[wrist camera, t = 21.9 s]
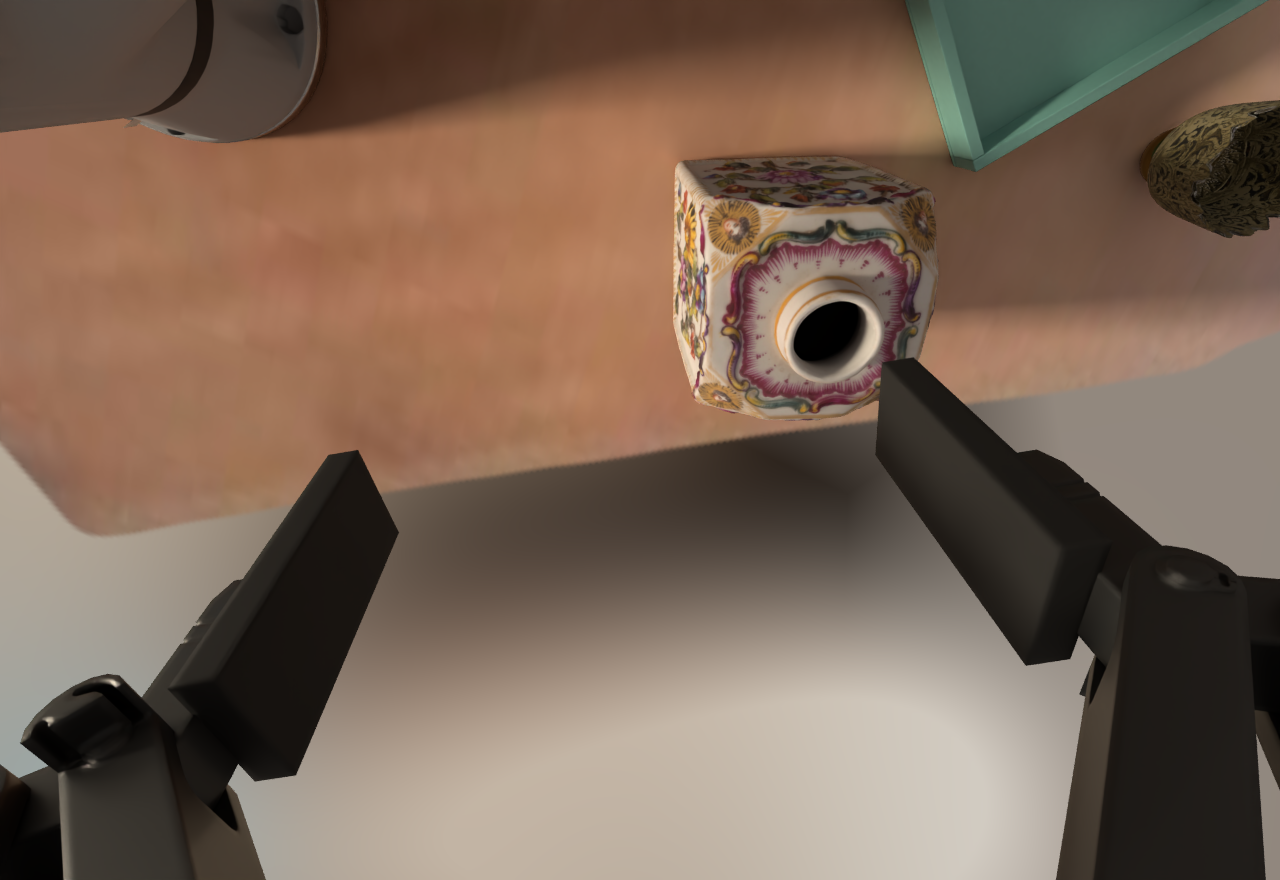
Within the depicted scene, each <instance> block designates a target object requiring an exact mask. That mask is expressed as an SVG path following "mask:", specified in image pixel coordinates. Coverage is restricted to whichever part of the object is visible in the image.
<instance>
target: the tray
mask: <svg viewBox="0 0 1280 880" xmlns="http://www.w3.org/2000/svg"><path fill="white" fill-rule="evenodd" d="M1266 1H1268V0H905V3H906V7H907V10H908V13H909V17H910V20H911V24H912V27H913V30H914V34H915V37H916V40H917V44H918V47H919V51H920V54H921V57H922V61H923V64H924V67H925V71H926V74H927V78H928V81H929V84H930V88H931V91H932V95H933V98H934V101H935V105H936V108H937V111H938V115H939V118H940V122H941V125H942V128H943V132H944V135H945V139H946V142H947V145H948V149H949V152H950V155H951V159H952V162H953V166H955V167H960V168H964V169H967V170H971V171H975V172H977V171H978V170H980V169H982V168H984V167H985V166H987V165H989V164H990V163H992V162H994V161H996V160H997V159H999V158H1001V157H1002V156H1004V155H1006V154H1007V153H1009V152H1011V151H1013V150H1014V149H1016V148H1018V147H1019V146H1021V145H1023V144H1024V143H1026V142H1028V141H1030V140H1031V139H1033V138H1035V137H1036V136H1038V135H1040V134H1041V133H1043V132H1045V131H1047V130H1048V129H1050V128H1052V127H1053V126H1055V125H1057V124H1058V123H1060V122H1062V121H1064V120H1065V119H1067V118H1069V117H1070V116H1072V115H1074V114H1076V113H1077V112H1079V111H1081V110H1082V109H1084V108H1086V107H1087V106H1089V105H1091V104H1093V103H1094V102H1096V101H1098V100H1099V99H1101V98H1103V97H1104V96H1106V95H1108V94H1110V93H1111V92H1113V91H1115V90H1116V89H1118V88H1120V87H1121V86H1123V85H1125V84H1127V83H1128V82H1130V81H1132V80H1133V79H1135V78H1137V77H1139V76H1140V75H1142V74H1144V73H1145V72H1147V71H1149V70H1150V69H1152V68H1154V67H1156V66H1157V65H1159V64H1161V63H1162V62H1164V61H1166V60H1167V59H1169V58H1171V57H1173V56H1174V55H1176V54H1178V53H1179V52H1181V51H1183V50H1184V49H1186V48H1188V47H1190V46H1191V45H1193V44H1195V43H1196V42H1198V41H1200V40H1202V39H1203V38H1205V37H1207V36H1208V35H1210V34H1212V33H1213V32H1215V31H1217V30H1219V29H1220V28H1222V27H1224V26H1225V25H1227V24H1229V23H1230V22H1232V21H1234V20H1236V19H1237V18H1239V17H1241V16H1242V15H1244V14H1246V13H1247V12H1249V11H1251V10H1253V9H1254V8H1256V7H1258V6H1259V5H1261V4H1263V3H1264V2H1266Z"/></svg>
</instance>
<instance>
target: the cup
mask: <svg viewBox="0 0 1280 880" xmlns="http://www.w3.org/2000/svg"><path fill="white" fill-rule="evenodd" d="M1140 172H1141V175H1142V177H1143V178H1144V179H1145V180H1146V181H1147V182H1148V188H1149V191H1150V194H1151V196H1152V197H1153V199H1154V200H1155V201H1156V203H1157V204H1158V205H1160V206H1161V207H1162V208H1163V209H1165V210H1166V211H1168V212H1170V213H1171V214H1173V215H1175V216H1177V217H1179V218H1182V219H1184V220H1186V221H1188V222H1191V223H1193V224H1195V225H1197V226H1200V227H1202V228H1205V229H1207V230H1209V231H1211V232H1214V233H1217V234H1219V235H1221V236H1223V237H1227V238H1232V236H1233V234H1234V235H1239V236H1251V235H1252V234H1254V232H1255V231H1257V230H1268V229H1269V222H1270V221H1269V218H1268V217H1277V218H1278V217H1280V100H1278V101H1264V102H1252V103H1242V104H1234V105H1228V106H1222V107H1218V108H1214V109H1211V110H1208V111H1205V112H1202V113H1200V114H1198V115H1196V116H1194V117H1192V118H1190V119H1188V120H1187V121H1185V122H1184V123H1182V124H1181V125H1179V126H1178V127H1176V128H1173V129H1170V130H1168V131H1166V132H1164V133H1162V134H1160V135H1159V136H1157V137H1156V138H1155V139H1154V140H1153V141H1152V142H1151V143H1150V144H1149V145H1148V146H1147V148H1146V149H1145V151H1144V153H1143V155H1142V157H1141V160H1140Z"/></svg>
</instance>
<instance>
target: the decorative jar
mask: <svg viewBox="0 0 1280 880" xmlns="http://www.w3.org/2000/svg"><path fill="white" fill-rule="evenodd" d="M935 202H936V201H935V198H934V197H933V195H932V193H931V191H930V190H928V189H927V188H925V187H921V186H919V185H917V184H914V183H912V182H909V181H907V180H905V179H902V178H899V177H896V176H894V175H892V174H890V173H887V172H884V171H882V170H880V169H877V168H874V167H872V166H869V165H867V164H864V163H861V162H858V161H855V160H850V159H848V158H844V157H838V156H834V157H828V156H824V157H818V156H816V157H780V158H778V157H777V158H773V157H772V158H751V159H729V160H724V159H722V160H687V161H681V162H679V163H678V164H677V166H676V169H675V214H674V272H673V273H674V296H673V298H674V301H673V309H674V312H673V323H674V328H675V332H676V336H677V340H678V344H679V348H680V352H681V355H682V359H683V362H684V365H685V369H686V372H687V375H688V378H689V381H690V385H691V388H692V396H693V398H694V399H695V400H696V401H697V402H698V403H700V404H702V405H708V406H714V407H716V408H718V409H721V410H723V411H727V412H730V413H743V414H747V415H750V416H753V417H756V418H761V419H766V420H820V419H824V418H833V417H841V416H844V415H847V414H849V413H851V412H852V411H854V410H856V409H859V408H861V407H863V406H865V405H868V404H870V403H871V402H874V401H878V400H879V396H880V382H881V367H882V362H887V361H893V360H899V359H905V358H911V357H914V358H915V359H916V360H917V361H918V359H919V358H920V355H921V352H922V347H923V344H924V340H925V337H926V333H927V330H928V327H929V323H930V319H931V317H932V314H933V311H934V306H935V297H936V288H937V283H938V277H939V276H938V259H937V253H936V223H935V218H934V210H933V207H934V204H935Z"/></svg>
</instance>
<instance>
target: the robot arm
mask: <svg viewBox="0 0 1280 880" xmlns="http://www.w3.org/2000/svg"><path fill="white" fill-rule="evenodd" d="M326 45H327V20H326V9H325V3H324V0H0V133H1V132H9V131H18V130H26V129H35V128H44V127H52V126H61V125H70V124H78V123H87V122H96V121H104V120H113V119H121V118H124V119H127V120H132V121H131V122H130V123H128V124H127V125H126V126H124V127H123V128H125V127H133V126H137V125H138V124H141V125H144V126H146V127H148V128H151V129H153V130H156V131H159V132H161V133H164V134H167V135H171V136H174V137H178V138H182V139H186V140H193V141H201V142H213V143H230V142H238V141H244V140H249V139H253V138H257V137H261V136H264V135H267V134H269V133H272V132H274V131H276V130H278V129H279V128H281V127H283V126H284V125H286V124H287V123H288V122H290V121H291V120H292V119H293V118H294V117H296V116H297V115H298V114H299V113H300V112H301V110H302V109H303V108H304V107H305V105H306V104H307V103H308V101H309V99H310V98H311V96H312V95H313V93H314V91H315V88H316V86H317V84H318V82H319V79H320V76H321V73H322V70H323V65H324V60H325V54H326ZM876 456H877V458H878V459H879V461H880V462H881V463H882V465H883V466H884V468H885V469H886V470H887V472H888V473H889V475H890V476H891V478H892V479H893V480H894V482H895V483H896V485H897V486H898V487H899V489H900V490H901V492H902V493H903V494H904V496H905V497H906V498H907V500H908V501H909V503H910V504H911V505H912V507H913V508H914V510H915V511H916V512H917V514H918V515H919V517H920V518H921V520H922V521H923V522H924V524H925V525H926V527H927V528H928V529H929V531H930V532H931V534H932V535H933V536H934V538H935V539H936V540H937V542H938V543H939V545H940V546H941V547H942V549H943V550H944V552H945V553H946V554H947V556H948V557H949V559H950V560H951V562H952V563H953V564H954V566H955V567H956V568H957V570H958V571H959V573H960V574H961V576H962V577H963V578H964V580H965V581H966V583H967V584H968V585H969V587H970V588H971V590H972V591H973V592H974V593H975V595H976V597H977V598H978V599H979V601H980V602H981V604H982V605H983V606H984V608H985V609H986V611H987V612H988V613H989V615H990V616H991V617H992V619H993V620H994V622H995V623H996V624H997V626H998V627H999V629H1000V630H1001V632H1002V633H1003V634H1004V636H1005V637H1006V639H1007V640H1008V641H1009V643H1010V644H1011V646H1012V647H1013V648H1014V650H1015V651H1016V652H1017V654H1018V655H1019V657H1020V658H1021V660H1022V661H1023V662H1024V664H1025V665H1026V666H1027V665H1034V664H1041V663H1047V662H1054V661H1060V660H1067V659H1070V658H1071V656H1072V653H1073V650H1074V647H1075V645H1076V642H1077V639H1078V636H1080V638H1081V639H1082V640H1083V641H1084V642H1085V644H1086V645H1087V646H1088V647H1089V648H1090V649H1091V651H1092V652H1093V653H1094V654H1095V656H1094V658H1093V661H1092V664H1091V666H1090V668H1089V671H1088V674H1087V676H1086V679H1085V681H1084V684H1083V686H1082V689H1081V692H1080V695H1082V696H1085V702H1084V708H1083V715H1082V722H1081V727H1080V733H1079V740H1078V746H1077V752H1076V758H1075V765H1074V771H1073V777H1072V783H1071V790H1070V796H1069V802H1068V809H1067V815H1066V821H1065V827H1064V833H1063V839H1062V846H1061V852H1060V858H1059V865H1058V871H1057V877H1056V880H1266V877H1265V862H1264V846H1263V831H1262V816H1261V801H1260V786H1259V770H1258V755H1257V740H1256V734H1257V736H1258V739H1259V742H1260V744H1261V746H1262V749H1263V751H1264V754H1265V756H1266V758H1267V761H1268V763H1269V765H1270V768H1271V770H1272V773H1273V775H1274V777H1275V780H1276V782H1277V784H1278V787H1279V789H1280V579H1271V578H1259V577H1246V576H1237V575H1236V574H1235V573H1234V572H1233V571H1232V570H1231V569H1230V568H1229V567H1228V566H1226V565H1224V564H1223V563H1221V562H1219V561H1217V560H1215V559H1214V558H1212V557H1210V556H1208V555H1205V554H1202V553H1199V552H1196V551H1193V550H1190V549H1187V548H1179V547H1173V546H1162V545H1160V544H1159V543H1158V542H1157V541H1156V540H1155V539H1154V538H1152V537H1151V536H1150V535H1149V534H1148V533H1147V532H1145V531H1144V530H1143V529H1142V528H1141V527H1140V526H1138V525H1137V524H1136V523H1135V522H1133V521H1132V520H1131V519H1130V518H1129V517H1128V516H1127V515H1125V514H1124V513H1123V512H1122V511H1121V510H1120V509H1118V508H1117V507H1116V506H1115V505H1114V504H1112V503H1111V502H1110V501H1109V500H1108V499H1107V498H1105V497H1104V496H1100V493H1099V492H1098V491H1097V490H1096V489H1095V488H1094V487H1092V486H1091V485H1090V484H1089V483H1088V482H1086V483H1085V482H1084V479H1083V478H1082V477H1081V476H1080V475H1078V474H1077V473H1076V472H1075V471H1074V470H1072V469H1071V468H1070V467H1069V466H1068V465H1067V464H1065V463H1064V462H1062V461H1060V460H1058V459H1056V458H1054V457H1052V456H1049V455H1047V454H1045V453H1043V452H1041V451H1039V450H1032V451H1025V452H1019V453H1017V452H1015V451H1014V450H1013V449H1012V448H1011V447H1010V446H1009V445H1008V444H1007V443H1006V442H1005V441H1003V440H1002V439H1001V438H1000V437H999V436H998V435H997V434H996V433H995V432H994V431H993V430H992V429H990V428H989V427H988V426H987V425H986V424H985V423H984V422H983V421H982V420H981V419H980V418H979V417H977V416H976V415H975V414H974V413H973V412H972V411H971V410H970V409H969V408H968V407H967V406H966V405H965V404H963V403H962V402H961V401H960V400H959V399H958V398H957V397H956V396H955V395H954V394H953V393H952V392H950V391H949V390H948V389H947V388H946V387H945V386H944V385H943V384H942V383H941V382H940V381H939V380H937V379H936V378H935V377H934V376H933V375H932V374H931V373H930V372H929V371H928V370H927V369H926V368H924V367H923V366H922V365H921V364H920V363H919V362H918V361H917V360H916V359H915V358H914V357H911V358H905V359H899V360H893V361H887V362H882V367H881V382H880V396H879V411H878V426H877V440H876ZM398 533H399V532H398V530H397V528H396V526H395V524H394V522H393V520H392V518H391V516H390V514H389V512H388V510H387V508H386V506H385V504H384V502H383V500H382V497H381V495H380V493H379V491H378V489H377V487H376V485H375V483H374V481H373V479H372V477H371V475H370V473H369V471H368V469H367V467H366V465H365V463H364V461H363V459H362V457H361V455H360V453H359V451H358V450H356V451H350V452H344V453H338V454H332V455H328V456H327V458H326V459H325V461H324V462H323V464H322V465H321V467H320V468H319V469H318V471H317V472H316V474H315V475H314V477H313V478H312V480H311V481H310V482H309V484H308V485H307V487H306V488H305V490H304V491H303V493H302V494H301V496H300V497H299V498H298V500H297V501H296V503H295V504H294V506H293V507H292V509H291V510H290V512H289V513H288V515H287V516H286V518H285V519H284V520H283V522H282V523H281V525H280V526H279V528H278V529H277V531H276V532H275V533H274V535H273V536H272V538H271V539H270V541H269V542H268V543H267V545H266V546H265V548H264V549H263V551H262V552H261V554H260V555H259V556H258V558H257V559H256V561H255V563H254V564H253V565H252V567H251V568H250V570H249V571H248V573H247V574H246V575H245V577H244V578H243V579H242V580H236V581H233V582H232V583H231V584H230V585H229V586H228V587H227V588H225V589H224V590H223V591H222V592H221V593H220V594H219V595H218V596H216V597H215V598H214V599H213V600H212V601H211V602H210V604H209V605H208V606H207V608H206V609H205V611H204V612H203V613H202V615H201V616H200V617H199V619H198V620H197V622H196V623H197V625H196V626H193V627H192V629H191V630H190V631H189V633H188V634H187V636H186V637H185V638H184V643H183V644H180V645H179V647H178V648H177V649H176V651H175V652H174V654H173V655H172V656H171V658H170V659H169V661H168V662H167V663H166V665H165V666H164V667H163V669H162V670H161V672H160V673H159V674H158V676H157V677H156V679H155V680H154V681H153V683H152V684H151V686H150V687H149V688H148V690H147V691H146V693H145V694H144V695H143V697H142V698H141V697H140V696H139V695H138V694H137V693H136V692H135V691H134V690H133V689H132V688H131V687H130V686H129V685H128V684H127V683H126V682H125V681H124V680H123V679H122V678H121V677H120V676H119V675H111V674H106V675H101V676H98V677H93V678H90V679H88V680H86V681H84V682H82V683H80V684H77V685H75V686H73V687H71V688H70V689H68V690H67V691H65V692H64V693H62V694H61V695H59V696H58V697H56V698H55V699H53V700H52V701H51V702H50V703H49V704H48V705H46V706H45V707H44V708H43V709H42V710H41V711H40V712H39V713H38V714H36V716H35V717H34V718H33V720H32V721H31V722H30V724H29V725H28V726H27V728H26V729H25V730H24V734H23V737H22V739H21V742H20V743H21V744H22V745H23V746H24V747H25V748H27V749H28V750H29V751H31V752H32V753H33V754H35V755H36V756H37V757H38V758H39V759H41V760H42V761H43V762H44V763H46V764H47V765H48V766H47V767H45V768H42V769H40V770H38V771H35V772H33V773H30V774H28V775H25V776H23V777H21V778H18V777H16V776H15V775H13V774H12V773H11V772H9V771H8V770H7V769H5V768H4V767H3V766H2V765H0V880H266V879H265V876H264V873H263V870H262V867H261V864H260V861H259V858H258V855H257V852H256V849H255V846H254V844H253V840H252V837H251V835H250V831H249V828H248V825H247V822H246V819H245V817H244V814H243V811H242V808H241V805H240V802H239V799H238V796H237V794H236V793H235V792H234V791H233V789H232V788H231V787H230V786H229V785H228V782H229V780H230V779H231V777H232V775H233V773H234V771H235V769H236V767H237V765H238V764H239V765H240V766H241V767H242V768H243V769H244V770H245V771H246V773H247V774H248V775H249V776H250V777H251V778H252V779H253V780H254V781H261V780H268V779H274V778H282V777H288V776H294V775H296V774H297V771H298V769H299V767H300V764H301V762H302V759H303V757H304V755H305V753H306V750H307V748H308V746H309V743H310V741H311V738H312V736H313V734H314V731H315V729H316V727H317V724H318V722H319V719H320V717H321V715H322V713H323V710H324V708H325V705H326V703H327V701H328V698H329V696H330V694H331V691H332V689H333V687H334V684H335V682H336V680H337V677H338V675H339V672H340V670H341V668H342V665H343V663H344V661H345V658H346V656H347V653H348V651H349V649H350V646H351V644H352V642H353V639H354V637H355V635H356V632H357V630H358V628H359V625H360V623H361V620H362V618H363V616H364V614H365V611H366V609H367V606H368V604H369V602H370V599H371V597H372V594H373V592H374V590H375V588H376V585H377V583H378V580H379V578H380V576H381V573H382V571H383V569H384V566H385V564H386V562H387V559H388V557H389V555H390V552H391V550H392V548H393V545H394V543H395V540H396V538H397V535H398Z"/></svg>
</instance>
